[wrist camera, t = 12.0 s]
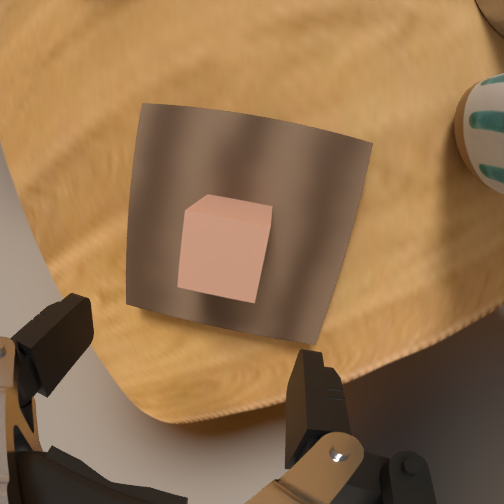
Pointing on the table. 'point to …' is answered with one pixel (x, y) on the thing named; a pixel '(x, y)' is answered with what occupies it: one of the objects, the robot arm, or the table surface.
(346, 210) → the walnut base
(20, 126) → the table surface
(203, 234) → the pink block
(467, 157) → the vase
